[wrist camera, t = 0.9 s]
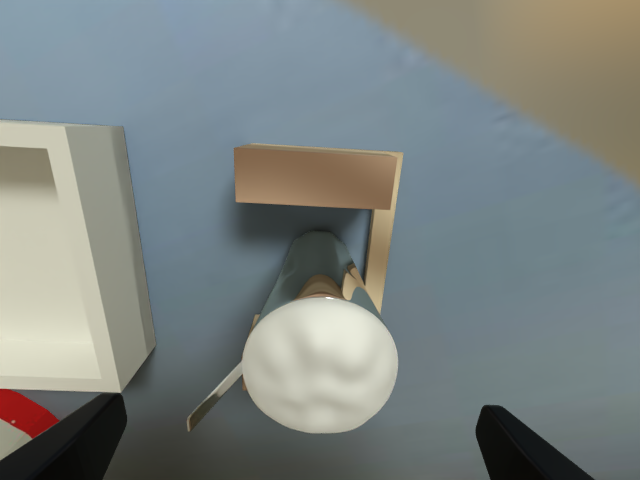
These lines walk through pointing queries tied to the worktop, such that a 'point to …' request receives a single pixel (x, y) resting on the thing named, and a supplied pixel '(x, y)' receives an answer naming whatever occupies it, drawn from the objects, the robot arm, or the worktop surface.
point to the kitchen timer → (20, 421)
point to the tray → (69, 260)
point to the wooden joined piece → (326, 190)
